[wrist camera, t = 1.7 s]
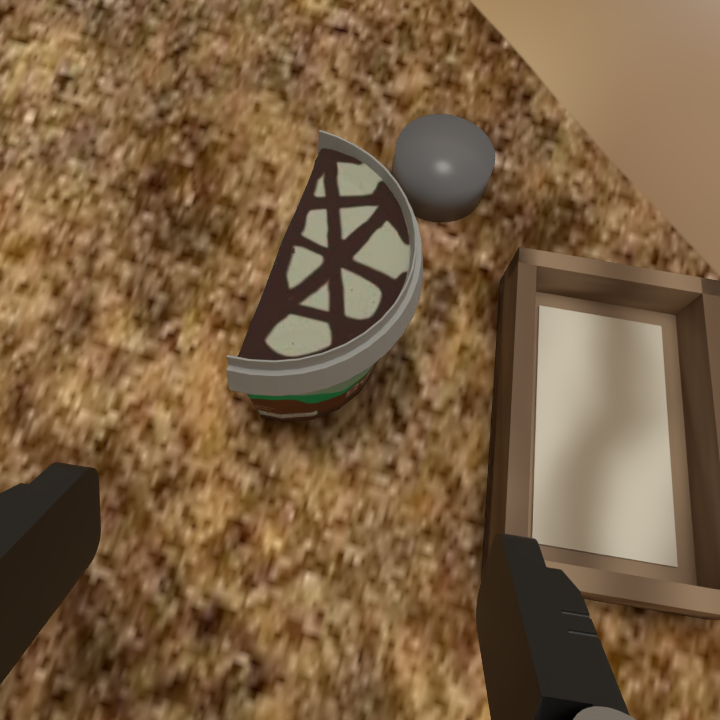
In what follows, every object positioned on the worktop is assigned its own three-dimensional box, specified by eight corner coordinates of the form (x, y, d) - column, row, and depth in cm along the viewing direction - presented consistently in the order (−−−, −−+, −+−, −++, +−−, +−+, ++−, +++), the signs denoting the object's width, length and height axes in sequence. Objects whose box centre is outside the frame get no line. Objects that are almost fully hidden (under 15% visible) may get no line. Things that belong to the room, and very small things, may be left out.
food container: (366, 477, 29) (389, 417, 20) (251, 443, 29) (220, 369, 20) (421, 278, 34) (459, 156, 25) (321, 251, 34) (323, 121, 25)
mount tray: (481, 581, 27) (503, 578, 24) (500, 280, 34) (519, 247, 31) (707, 619, 27) (759, 621, 24) (681, 311, 34) (719, 280, 31)
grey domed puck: (384, 214, 36) (389, 182, 33) (396, 143, 38) (402, 107, 35) (478, 230, 36) (492, 199, 33) (484, 157, 38) (497, 123, 35)
